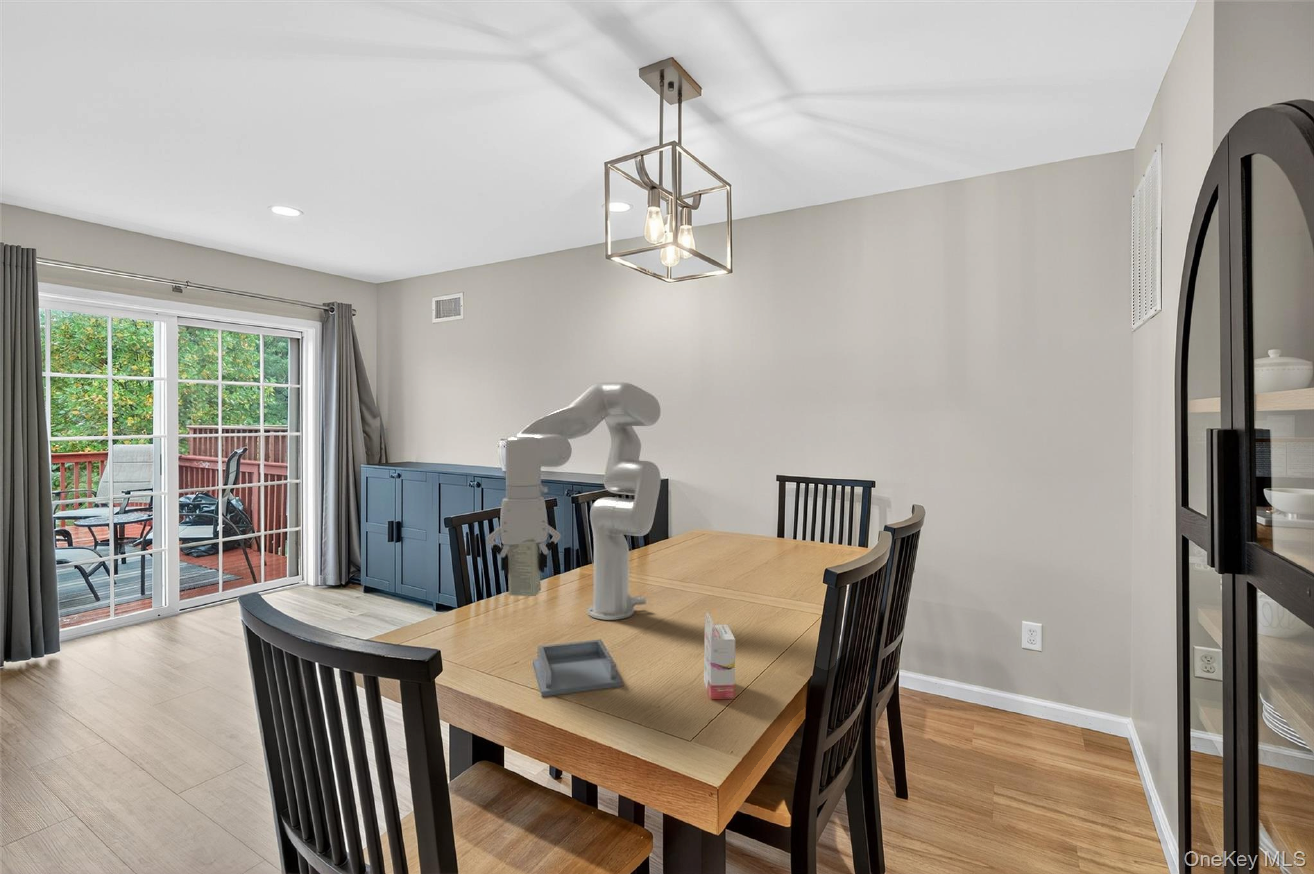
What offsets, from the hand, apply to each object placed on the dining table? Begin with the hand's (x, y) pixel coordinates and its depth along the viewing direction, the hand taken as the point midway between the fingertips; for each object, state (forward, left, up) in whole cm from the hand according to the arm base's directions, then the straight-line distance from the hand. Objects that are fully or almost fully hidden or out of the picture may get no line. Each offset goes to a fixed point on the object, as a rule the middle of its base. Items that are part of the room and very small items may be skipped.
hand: (524, 571), depth 135 cm
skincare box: (0, 0, -5) cm, 5 cm away
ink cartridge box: (-35, +27, -20) cm, 48 cm away
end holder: (-9, +12, -19) cm, 25 cm away
